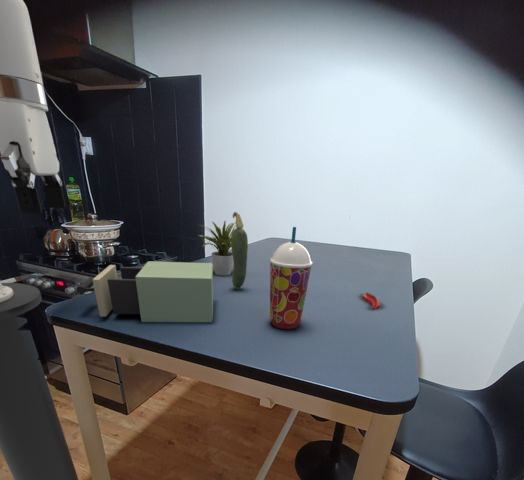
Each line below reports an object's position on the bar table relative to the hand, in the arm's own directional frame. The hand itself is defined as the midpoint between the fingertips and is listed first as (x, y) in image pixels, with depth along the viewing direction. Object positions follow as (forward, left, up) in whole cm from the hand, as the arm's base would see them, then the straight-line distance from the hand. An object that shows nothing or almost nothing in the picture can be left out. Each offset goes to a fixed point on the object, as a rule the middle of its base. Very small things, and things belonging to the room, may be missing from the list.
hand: (45, 210), depth 60 cm
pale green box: (+24, 0, -20) cm, 31 cm away
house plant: (+34, +34, -20) cm, 52 cm away
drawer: (+13, 0, -19) cm, 23 cm away
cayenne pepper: (+73, +8, -20) cm, 76 cm away
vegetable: (+38, +16, -20) cm, 45 cm away
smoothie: (+47, -7, -20) cm, 51 cm away
